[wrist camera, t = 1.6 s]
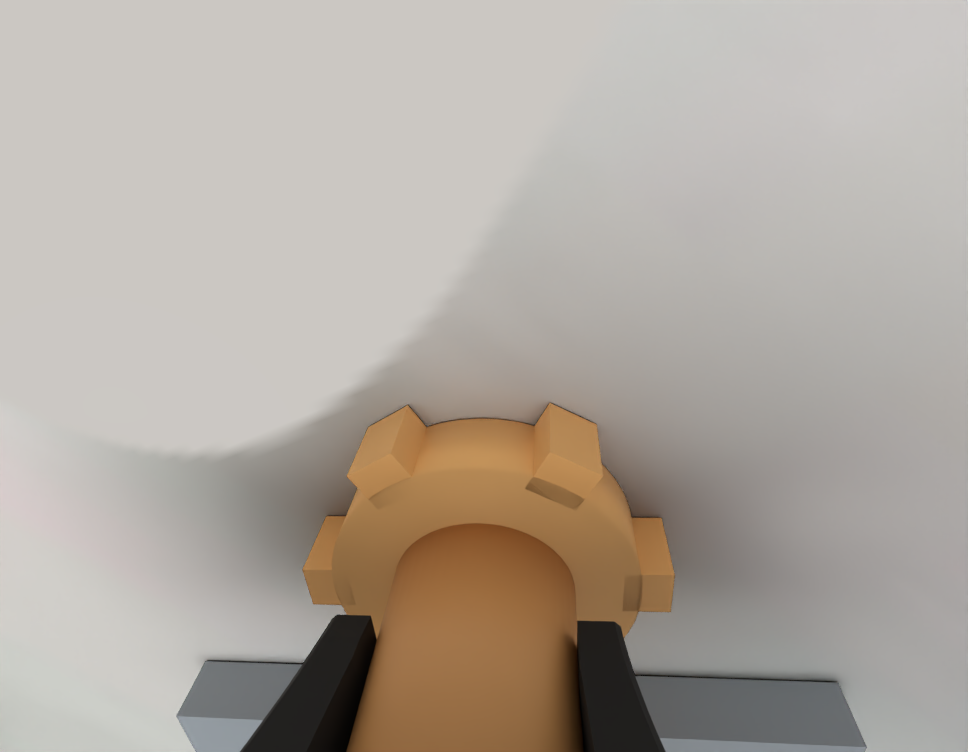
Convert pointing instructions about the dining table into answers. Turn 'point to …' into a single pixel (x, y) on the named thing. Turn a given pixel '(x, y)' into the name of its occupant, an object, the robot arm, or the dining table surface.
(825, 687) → the carrier plate
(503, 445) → the planet gear
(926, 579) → the dining table surface
